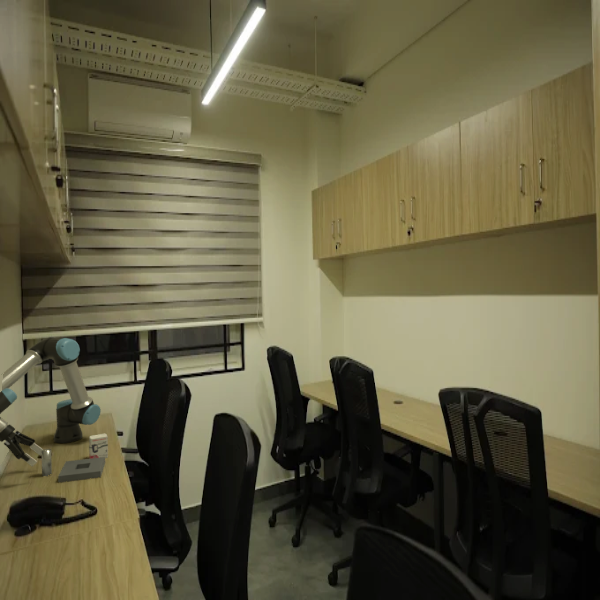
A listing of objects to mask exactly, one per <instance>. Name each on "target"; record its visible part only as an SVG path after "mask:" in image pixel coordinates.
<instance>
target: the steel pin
mask: <svg viewBox="0 0 600 600" xmlns="http://www.w3.org/2000/svg"><path fill="white" fill-rule="evenodd" d="M52 468H53V467H52V448H44V449H43V450H42V455H41V476H42V477H43V476H47V477H49V476H48V475H50V474H53V472H52V470H53V469H52ZM50 476H51V475H50Z"/></svg>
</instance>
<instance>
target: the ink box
mask: <svg viewBox="0 0 600 600" xmlns="http://www.w3.org/2000/svg"><path fill="white" fill-rule="evenodd" d="M88 443H89V445H88V450H89V451H88V452H89V458H88V459H91V458H100V457H105V459H108V458H109V436H108V434H107V433H99V434H93V435H90V436H88Z"/></svg>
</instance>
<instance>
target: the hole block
mask: <svg viewBox="0 0 600 600" xmlns="http://www.w3.org/2000/svg"><path fill="white" fill-rule="evenodd" d="M105 464H106V458H105V457H100V458H91V459H90V458H83V459H74V460H65V462H64V465H63V466H62V468H61V470H60V472H59V473H58V476H57V478H58V479H57V482H59V483H66V481H67V482H74V481H75V482H76V481H82V480H89V479H90V478H91V479H98V477H99V478H102V474H103V472H104V467H105ZM91 479H90V480H91Z"/></svg>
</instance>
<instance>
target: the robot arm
mask: <svg viewBox="0 0 600 600" xmlns="http://www.w3.org/2000/svg"><path fill="white" fill-rule="evenodd" d="M80 352H81V349H80V345H79V344H78V342H77V341H76V340H74V339H72V338H67V337H64V338H63V337H47V338H44V339H42V340H40V341H38V342H37V343H35V344H34V345H32V346H30V348H29V349H27V350H26V352H25V354H24V355H23V356H22V357H20V358H19V360H17V361H16V362H15V363H14V364H12V365H11V366H10V367H9V368H7V369H6V370H5V371H3V373H4V374H3V373H2V374H3V380H2V391H1V392H0V415H1V414H2V413H3V412H4V411H5V410H7V409H8V408H9V407H10V406H11V405H12V404H13V403H14V402H15V401H16V400H17V399H18V395H17V393H16V392H15V391H14V390H12V389H11V387H12V386H13V385H15V383H17V382H18V381H20V379H21V378H23V376H25V375H26V374H27V373H28V372H29V371H31V370H32V369H33V368H34V367H36V366H37V365H39V364H42V363H43V362H44V361H47V360H49V359H50V360H53V362H54V365H55V367H57V368H59V369H60V373H61V374H62V377H63V380H64V384H65V387H66V388H67V392H68V395H69V397H70V399H66V400H61V401H58V402H57V403H56V409H55V413H56V429H55V433H54V435H53V442H54V443H57V444H67V443H73V441H74V442H76V441H79V440H81V439H82V438H83V437H84V436H83V434H84V433H83V431H82V429H81V426H80V425H85V426H86V425H87V426H90V425H93V424H95V423H96V422H97V421H98V420H99V418H100V416H101V412H102V411H101V407H100V405H98V404H95V402H94V399H93V397H90V396H89V394H88V391H87V389H86V385H85V383H84V380H83V378H82V375H81V372H80V369H79V364H78V363H77V361H78V360H79V355H80ZM14 431H15V432H14ZM4 441H5V442H4ZM0 442H1V443H2V442H4V443H3V445H4V446H5V447H7V449H8V450H9V451H10V452H11V453H12V455H13V456H14V457H15V458H16V459H17V460H20V459H22V460H23V461H24V462H26V464H28V465H30V466H31V467H32V468H33V467H34V465H36V464H37V463H38V460H36V459H35V458H34V457H32V456H31V455H30V454H28V453H27V452H24V449H23V448H22V447H21V444H22V445H24V446H28V447H29V448H30V449H31V450H32V451H34V452H35V453H36V454H37V455H39V456H41V457H42V450H44V449H43V448H42V447H41V446H39V445H38V444H36V440H35V439H34V438H32V437H31V436H27V435H25V434H24V433H22V432H20V431H18V430H16V427H14V426H12V424H9V423H8V421H7V420H5V419H3V418H2V417H1V416H0Z"/></svg>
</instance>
